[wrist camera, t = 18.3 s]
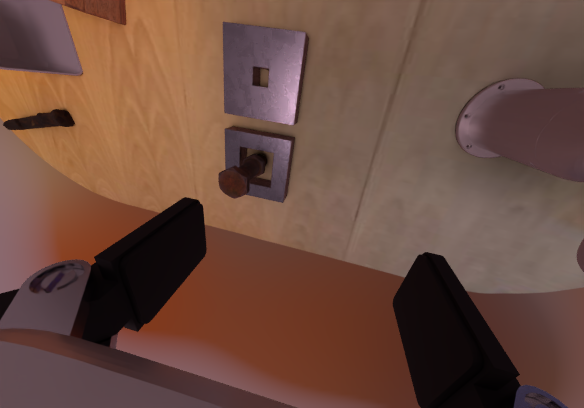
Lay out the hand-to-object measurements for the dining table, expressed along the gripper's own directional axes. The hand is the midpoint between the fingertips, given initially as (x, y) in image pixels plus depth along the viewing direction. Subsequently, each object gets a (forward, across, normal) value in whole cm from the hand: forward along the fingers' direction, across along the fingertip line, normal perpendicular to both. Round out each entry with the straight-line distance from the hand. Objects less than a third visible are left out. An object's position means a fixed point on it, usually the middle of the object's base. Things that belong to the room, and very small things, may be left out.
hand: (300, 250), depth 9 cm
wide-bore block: (+38, +14, +10) cm, 42 cm away
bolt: (+38, +14, +9) cm, 42 cm away
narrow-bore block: (+38, +14, -7) cm, 41 cm away
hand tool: (+39, +74, +11) cm, 84 cm away
